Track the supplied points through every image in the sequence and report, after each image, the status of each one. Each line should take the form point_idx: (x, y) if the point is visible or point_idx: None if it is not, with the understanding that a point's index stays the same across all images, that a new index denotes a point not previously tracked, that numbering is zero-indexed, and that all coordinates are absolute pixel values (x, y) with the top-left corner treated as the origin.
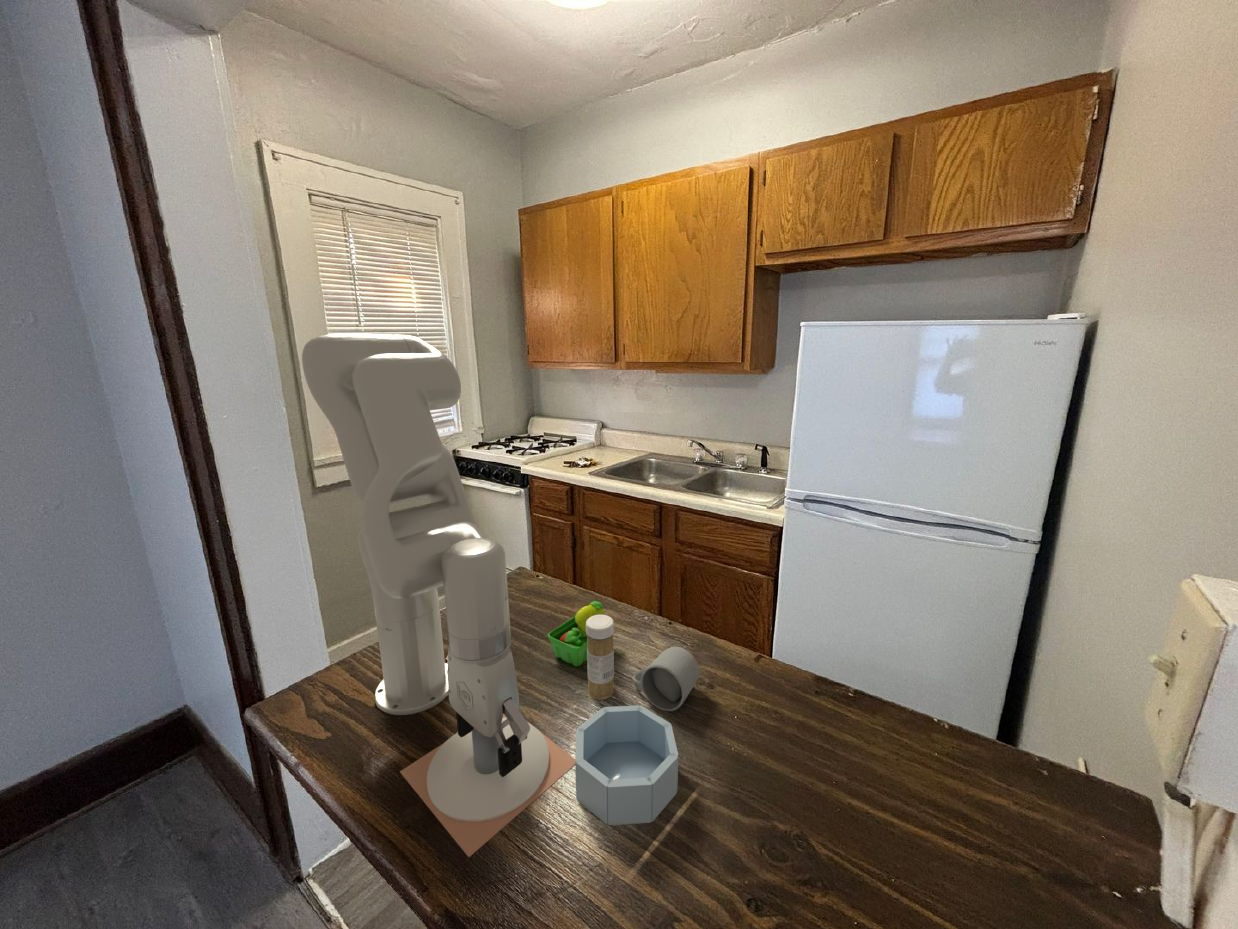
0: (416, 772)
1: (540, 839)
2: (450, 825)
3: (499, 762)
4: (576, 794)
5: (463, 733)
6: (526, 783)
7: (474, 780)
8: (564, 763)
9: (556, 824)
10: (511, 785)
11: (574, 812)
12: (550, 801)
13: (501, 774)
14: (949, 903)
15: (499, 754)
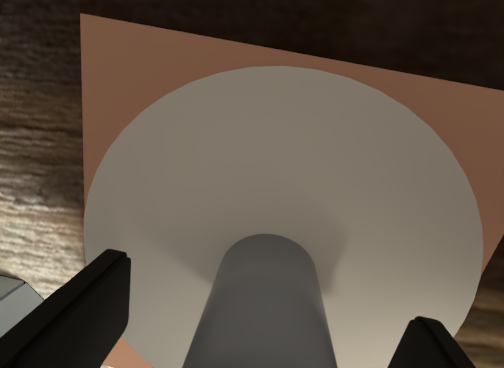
0: (497, 135)
1: (7, 170)
2: (212, 55)
3: (67, 295)
4: (7, 295)
5: (417, 337)
6: None
7: (256, 206)
8: None
9: (12, 217)
10: (145, 245)
11: (7, 258)
12: (68, 256)
13: (102, 254)
14: None
15: (6, 341)
